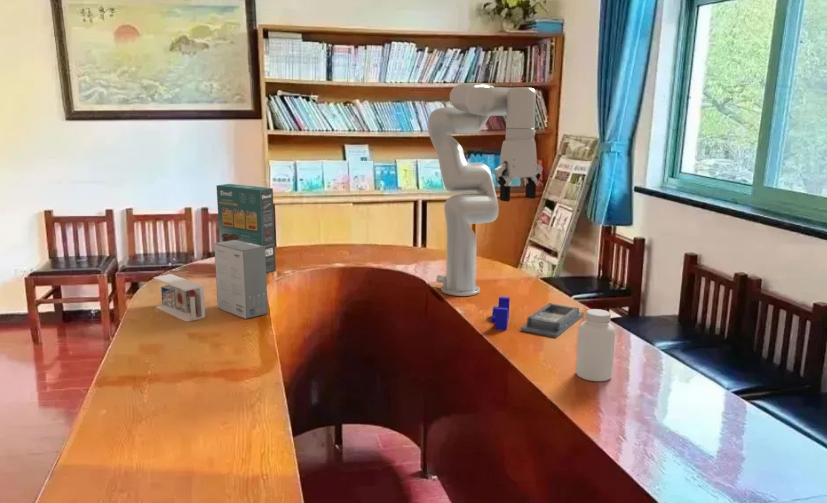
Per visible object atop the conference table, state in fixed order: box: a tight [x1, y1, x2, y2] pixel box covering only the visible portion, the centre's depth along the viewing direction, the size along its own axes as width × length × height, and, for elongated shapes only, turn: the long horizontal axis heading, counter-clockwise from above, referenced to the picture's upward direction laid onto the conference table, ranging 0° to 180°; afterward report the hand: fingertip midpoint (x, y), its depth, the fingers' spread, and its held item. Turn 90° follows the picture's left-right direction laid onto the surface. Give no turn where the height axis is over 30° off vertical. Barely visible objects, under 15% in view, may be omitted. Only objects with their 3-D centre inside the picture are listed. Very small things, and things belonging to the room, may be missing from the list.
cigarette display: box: [153, 273, 206, 323], centre depth 194 cm, size 20×6×9 cm, turn 47°
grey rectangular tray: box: [520, 302, 585, 339], centre depth 188 cm, size 10×22×3 cm, turn 148°
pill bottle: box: [575, 308, 616, 382], centre depth 151 cm, size 8×8×15 cm
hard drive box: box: [213, 240, 269, 320], centre depth 194 cm, size 16×8×20 cm, turn 47°
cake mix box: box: [216, 183, 277, 275], centre depth 243 cm, size 22×6×30 cm, turn 58°
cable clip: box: [491, 296, 511, 331], centre depth 188 cm, size 12×4×6 cm, turn 169°
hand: (517, 199), depth 181 cm, fingers open, 9 cm apart
